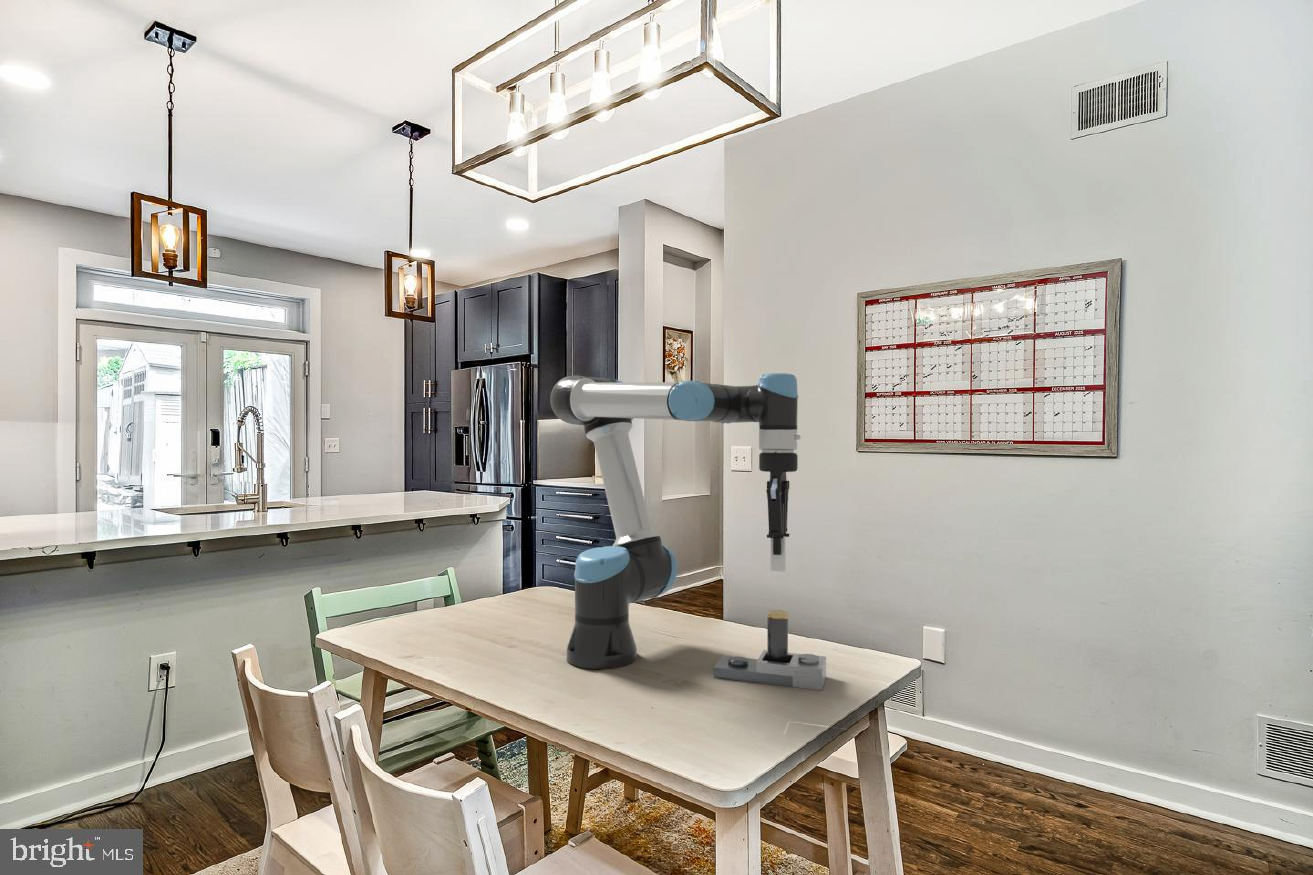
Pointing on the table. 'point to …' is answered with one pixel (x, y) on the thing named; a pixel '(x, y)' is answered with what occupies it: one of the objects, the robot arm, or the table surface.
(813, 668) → the metal block with stud
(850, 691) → the table surface
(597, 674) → the table surface
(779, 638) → the pin
